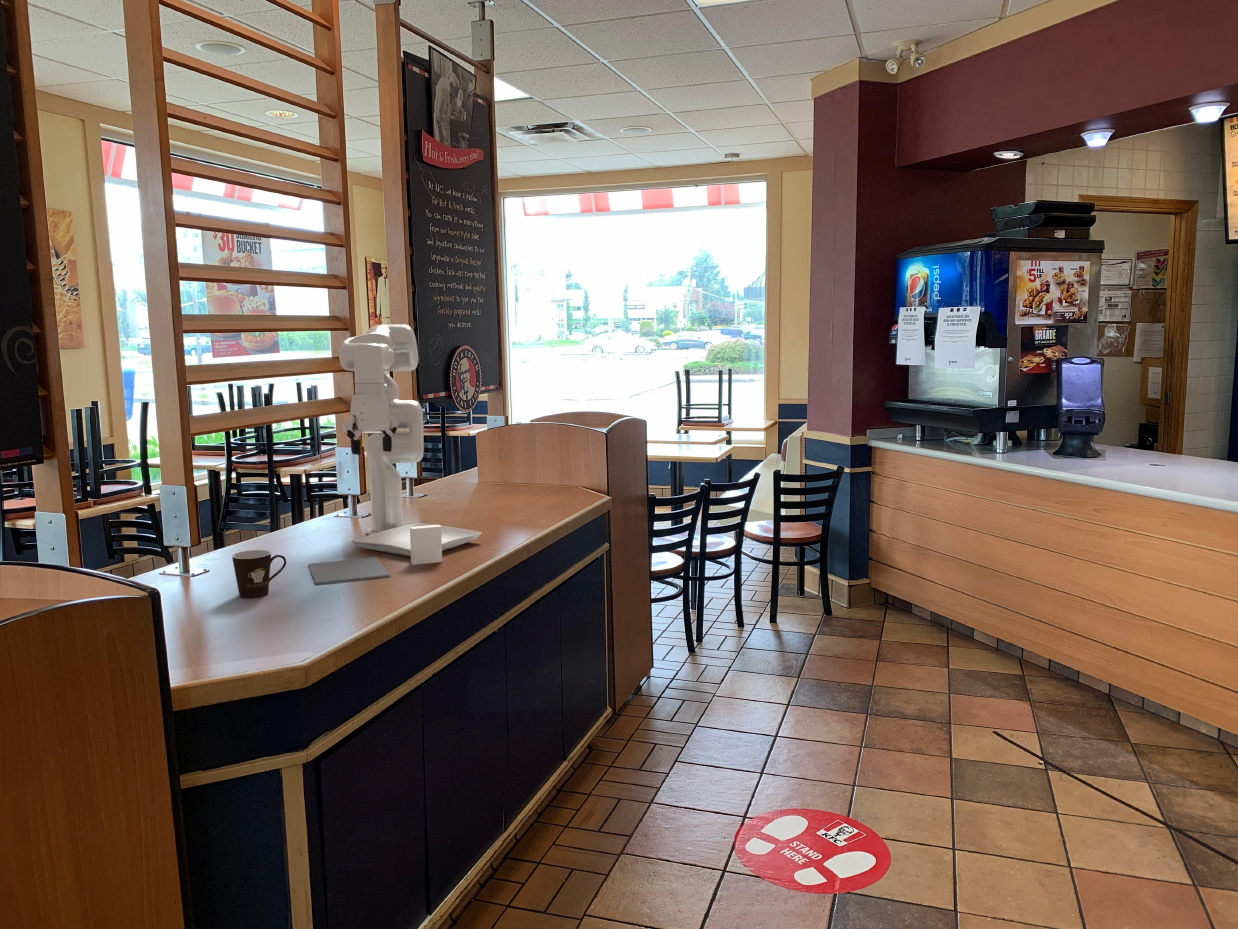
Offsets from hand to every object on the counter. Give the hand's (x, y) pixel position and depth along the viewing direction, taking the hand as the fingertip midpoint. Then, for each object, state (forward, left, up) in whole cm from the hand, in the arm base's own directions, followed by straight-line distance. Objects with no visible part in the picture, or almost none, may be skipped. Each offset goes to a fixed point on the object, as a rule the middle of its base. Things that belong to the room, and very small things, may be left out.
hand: (372, 452), depth 238 cm
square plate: (-12, +14, -31) cm, 36 cm away
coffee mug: (+22, -31, -30) cm, 48 cm away
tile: (+8, +12, -30) cm, 33 cm away
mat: (+9, -9, -30) cm, 33 cm away
